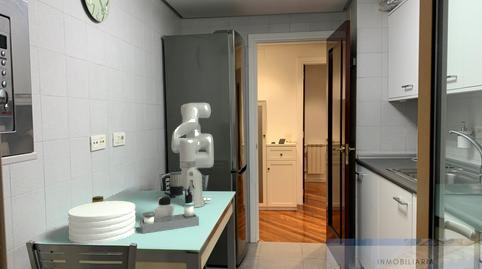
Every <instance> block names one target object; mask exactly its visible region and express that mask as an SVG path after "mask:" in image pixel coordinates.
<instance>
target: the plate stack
mask: <svg viewBox="0 0 482 269" xmlns="http://www.w3.org/2000/svg"><path fill="white" fill-rule="evenodd" d="M67 215H68V219H67V221H68V239H69V241H71V242H72V243H76V244H84V245H92V244H93V243H95V244H103V242H105V243H110V242H109V241H111V242H114V240H115V241H118V239H119V240H123V239H125V238H127V236H128V237H130V236H131V235H133V234H134V233H135V232H136V230H137V227H136V225H137V222H136V204H135V203H134V202H130V201H125V200H107V201H106V200H105V201H104V200H103V202H95V203H92V202H88V203H85V204H81V205H78V206H77V205H76V206H74V207H72V208H70V209H69V210H68V211H67ZM89 243H90V244H89ZM93 245H94V244H93Z"/></svg>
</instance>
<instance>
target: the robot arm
mask: <svg viewBox="0 0 482 269" xmlns="http://www.w3.org/2000/svg"><path fill="white" fill-rule="evenodd" d="M211 109H212V108H211V105H210V104H209V103H208V102H189V103H184V104H182V105H181V106H180V113H181V117H182V121H181V122H182V123H181V124H179V125H178V126H177V127H176V128H175V130H173V132H172V136H171V151H172V152H173V153H174V154H179V168H180V169H181V172H182V186H183V189H184V202H185V203H192V202H194V205H193V209H195V208H202V207H204V206H206V202H211V197H204V196H203V176H202V173H201V171H200V170H199V169H210V168H212V167H213V166H214V162H215V161H214V160H215V158H214V156H215V154H214V152H215V151H214V150H215V149H214V138H213V135H212V134H210V133H202V132H201V131H202V130H201V123H200V122H199V119H208V118H210V117H211V112H212V110H211ZM183 136H185V137H183ZM200 150H201V151H200ZM203 150H204V151H203Z"/></svg>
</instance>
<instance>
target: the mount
mask: <svg viewBox="0 0 482 269" xmlns="http://www.w3.org/2000/svg"><path fill="white" fill-rule="evenodd" d="M199 225H200V217H199V216H198V215H197V214H196V213H194V217H188V218H185V217H184V213H179V214H174V215H172V216H164V217H157V218H155V217H154V222H152V223H144V218H142V219H139V229H140V230H141V233H142V234H143V235H144V234H151V233H156V232H164V231H170V230H171V231H172V230H177V229H183V228H190V227H197V226H198V227H199Z"/></svg>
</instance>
